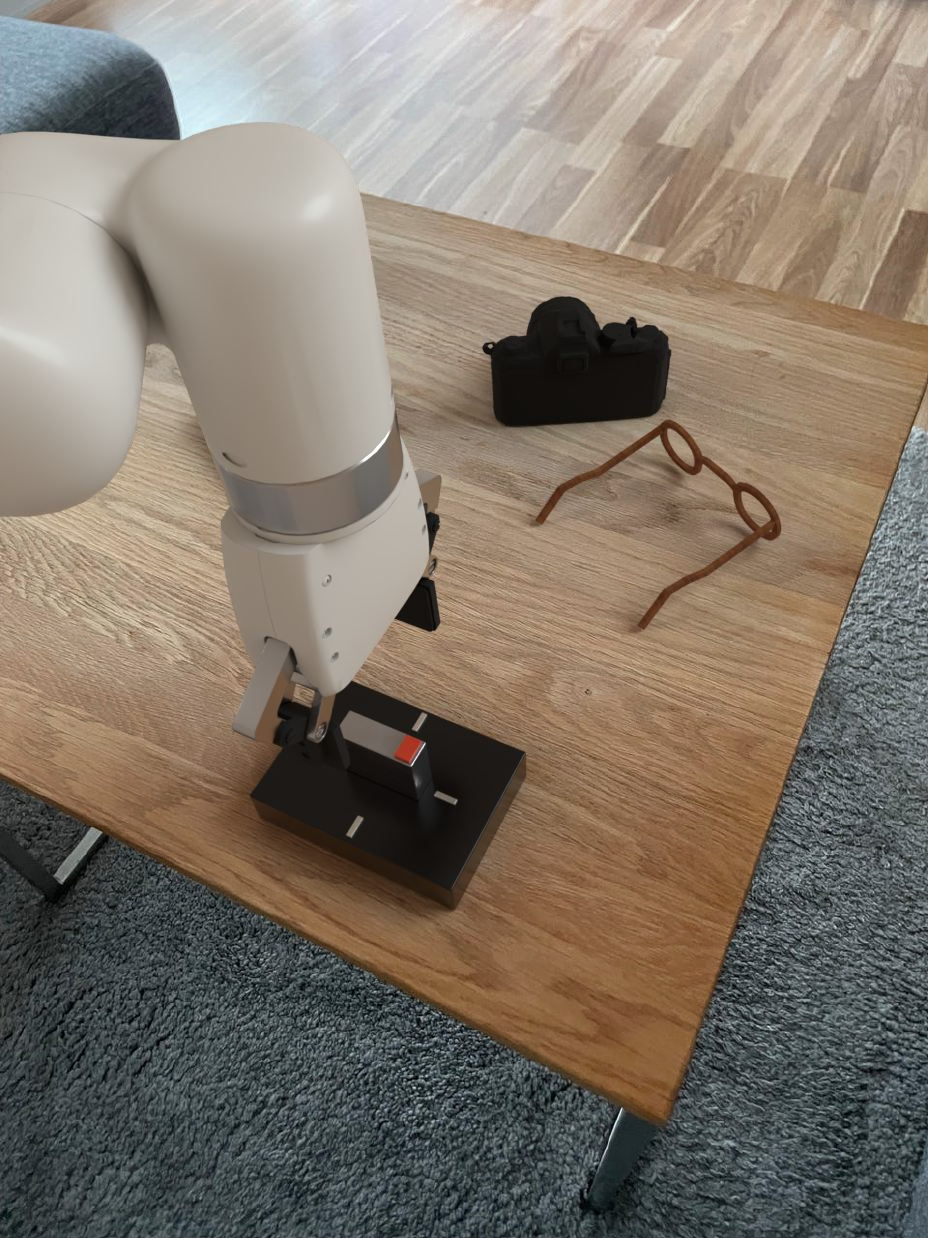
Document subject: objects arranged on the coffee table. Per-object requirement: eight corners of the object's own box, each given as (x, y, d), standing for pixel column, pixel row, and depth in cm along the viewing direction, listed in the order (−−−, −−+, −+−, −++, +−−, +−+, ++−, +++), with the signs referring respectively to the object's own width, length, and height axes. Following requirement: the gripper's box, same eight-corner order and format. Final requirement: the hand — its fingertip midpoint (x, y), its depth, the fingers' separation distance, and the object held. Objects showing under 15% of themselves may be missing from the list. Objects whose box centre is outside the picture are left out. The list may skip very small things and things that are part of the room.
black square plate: (259, 818, 64) (248, 794, 62) (341, 697, 70) (334, 671, 67) (455, 911, 60) (451, 890, 57) (527, 775, 65) (526, 750, 63)
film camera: (652, 348, 90) (662, 258, 83) (669, 421, 85) (681, 331, 77) (482, 359, 91) (477, 270, 84) (486, 433, 85) (482, 344, 78)
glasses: (779, 551, 75) (792, 504, 71) (640, 633, 71) (646, 588, 68) (664, 452, 82) (670, 404, 78) (531, 522, 79) (531, 475, 75)
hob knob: (344, 768, 63) (333, 731, 59) (359, 745, 64) (349, 707, 60) (418, 801, 61) (410, 765, 58) (432, 777, 62) (426, 740, 59)
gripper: (341, 310, 47) (389, 554, 61) (102, 573, 38) (221, 790, 52) (486, 349, 45) (502, 593, 58) (267, 639, 36) (347, 848, 49)
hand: (370, 686), depth 55 cm, fingers open, 9 cm apart
